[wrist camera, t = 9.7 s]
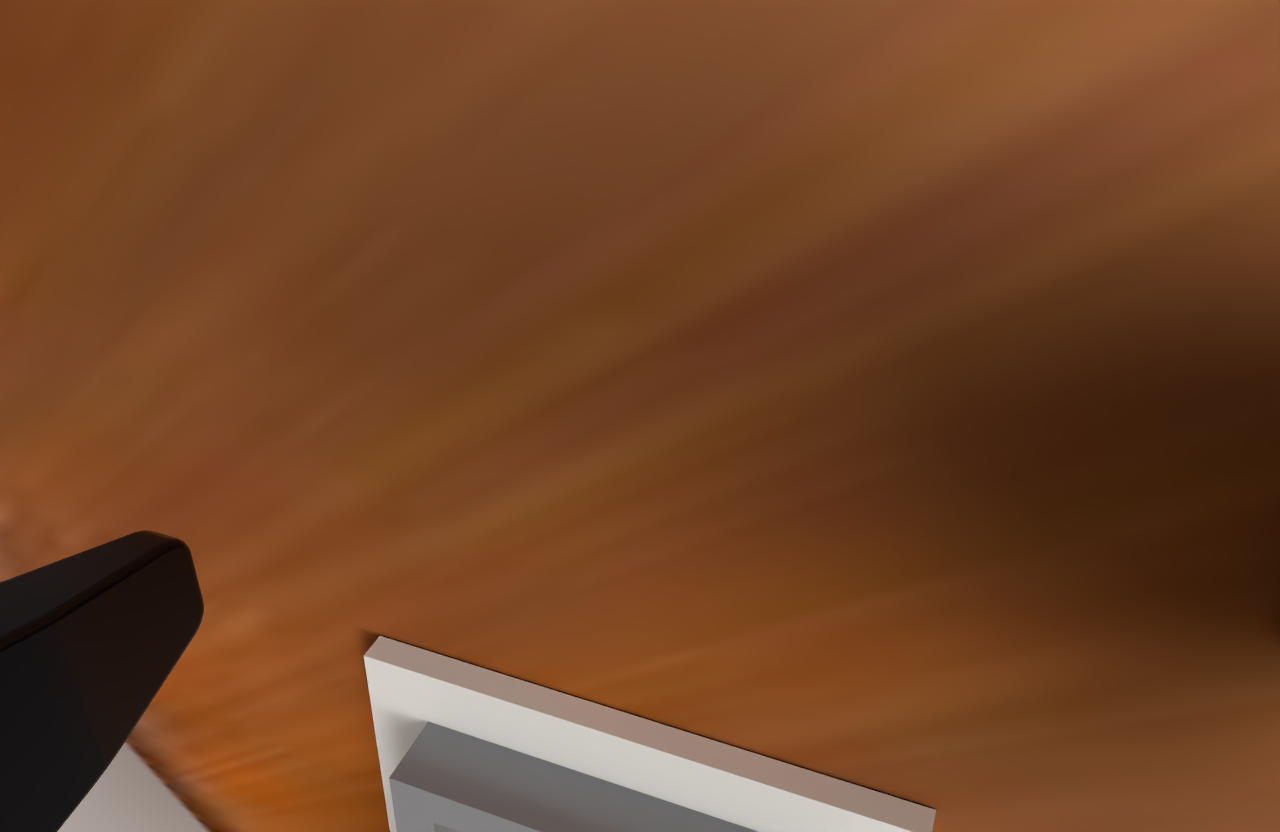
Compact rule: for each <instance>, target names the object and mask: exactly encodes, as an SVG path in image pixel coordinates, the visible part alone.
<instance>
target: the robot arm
mask: <svg viewBox="0 0 1280 832" xmlns="http://www.w3.org/2000/svg"><path fill="white" fill-rule="evenodd" d="M203 613H204V603H203V598H202V594H201V590H200V587H199V583H198V579H197V575H196V571H195V567H194V563H193V559H192V555H191V552H190V549H189V547H188V546H187V545H186V544H185V543H184V542H183V541H182V540H180V539H177V538H174V537H171V536H167V535H164V534H161V533H158V532H154V531H138V532H135V533H132V534H129V535H127V536H124V537H121V538H119V539H116V540H113V541H111V542H108V543H105V544H103V545H100V546H97V547H95V548H92V549H89V550H87V551H84V552H81V553H78V554H76V555H73V556H70V557H68V558H65V559H62V560H60V561H57V562H54V563H52V564H49V565H46V566H44V567H41V568H38V569H36V570H33V571H30V572H27V573H25V574H22V575H19V576H17V577H14V578H11V579H9V580H6V581H3V582H1V583H0V832H57V831H58V830H59V829H60V827H61V826H62V825H63V823H64V822H65V821H66V820H67V819H68V817H69V816H70V814H72V812H73V811H74V810H75V809H76V807H77V806H78V804H80V802H81V801H82V799H84V797H85V796H86V795H87V794H88V792H89V791H90V790H91V788H92V787H93V786H94V784H95V783H96V782H97V781H98V779H99V778H100V777H101V775H102V774H103V772H104V771H105V770H106V769H107V767H108V766H109V764H110V763H111V761H112V760H113V759H114V757H115V756H116V754H117V753H118V751H119V750H120V748H121V747H122V745H123V744H124V743H125V741H126V739H127V738H128V736H129V735H130V733H131V732H132V730H133V729H134V727H135V726H136V724H137V723H138V721H139V720H140V718H141V717H142V715H143V713H144V712H145V710H146V709H147V707H148V706H149V704H150V703H151V701H152V700H153V698H154V697H155V695H156V694H157V692H158V690H159V689H160V687H161V686H162V684H163V683H164V681H165V680H166V678H167V677H168V675H169V674H170V672H171V671H172V669H173V667H174V666H175V664H176V663H177V661H178V660H179V658H180V657H181V655H182V654H183V652H184V651H185V649H186V648H187V646H188V645H189V643H190V641H191V640H192V638H193V637H194V635H195V634H196V632H197V630H198V628H199V626H200V624H201V621H202V617H203Z"/></svg>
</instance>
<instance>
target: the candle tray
mask: <svg viewBox="0 0 1280 832" xmlns="http://www.w3.org/2000/svg"><path fill="white" fill-rule="evenodd" d="M364 661H365V668H366V674H367V681H368V688H369V695H370V701H371V708H372V715H373V721H374V728H375V735H376V741H377V748H378V755H379V761H380V768H381V775H382V781H383V788H384V795H385V801H386V808H387V815H388V822H389V828H390V832H932V831H933V825H934V819H935V813H936V810H934V809H931V808H928V807H925V806H922V805H918V804H915V803H912V802H909V801H906V800H902V799H899V798H896V797H893V796H890V795H886V794H883V793H880V792H877V791H874V790H871V789H867V788H864V787H861V786H858V785H855V784H851V783H848V782H845V781H842V780H839V779H835V778H832V777H829V776H826V775H823V774H819V773H816V772H813V771H810V770H807V769H804V768H800V767H797V766H794V765H791V764H788V763H784V762H781V761H778V760H775V759H772V758H768V757H765V756H762V755H759V754H756V753H752V752H749V751H746V750H743V749H740V748H737V747H733V746H730V745H727V744H724V743H721V742H717V741H714V740H711V739H708V738H705V737H701V736H698V735H695V734H692V733H689V732H685V731H682V730H679V729H676V728H673V727H670V726H666V725H663V724H660V723H657V722H654V721H650V720H647V719H644V718H641V717H638V716H634V715H631V714H628V713H625V712H622V711H618V710H615V709H612V708H609V707H606V706H603V705H599V704H596V703H593V702H590V701H587V700H583V699H580V698H577V697H574V696H571V695H567V694H564V693H561V692H558V691H555V690H551V689H548V688H545V687H542V686H539V685H536V684H532V683H529V682H526V681H523V680H520V679H516V678H513V677H510V676H507V675H504V674H500V673H497V672H494V671H491V670H488V669H484V668H481V667H478V666H475V665H472V664H469V663H465V662H462V661H459V660H456V659H453V658H449V657H446V656H443V655H440V654H437V653H433V652H430V651H427V650H424V649H421V648H417V647H414V646H411V645H408V644H405V643H402V642H398V641H395V640H392V639H389V638H386V637H382V636H379V637H378V639H377V640H376V641H375V642H374V643H373V645H372V646H371V647H370V648H369V650H368V651H367V652H366V653H365V655H364Z"/></svg>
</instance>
